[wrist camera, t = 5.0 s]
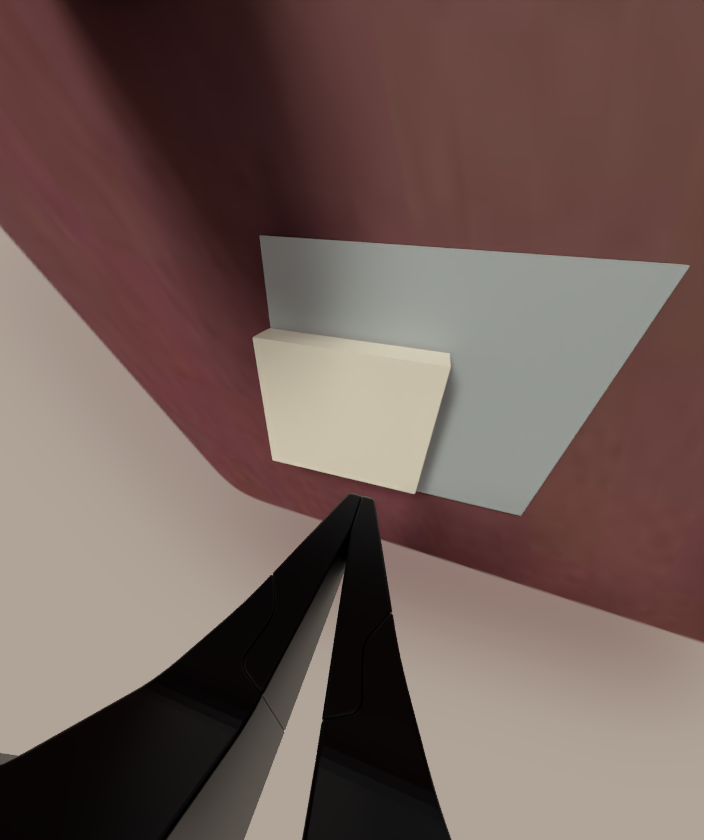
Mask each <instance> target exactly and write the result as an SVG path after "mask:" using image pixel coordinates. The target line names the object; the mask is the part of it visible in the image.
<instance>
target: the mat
mask: <svg viewBox="0 0 704 840" xmlns="http://www.w3.org/2000/svg"><path fill="white" fill-rule="evenodd" d="M259 237H260V245H261V254H262V262H263V270H264V278H265V286H266V294H267V303H268V311H269V319H270V327H271V328H272V329H279V330H286V331H293V332H300V333H307V334H315V335H322V336H329V337H336V338H343V339H350V340H358V341H365V342H372V343H379V344H386V345H393V346H401V347H408V348H415V349H422V350H429V351H436V352H444V353H450V362H451V368H450V372H449V375H448V379H447V383H446V386H445V390H444V393H443V397H442V400H441V404H440V407H439V411H438V414H437V418H436V421H435V425H434V428H433V432H432V436H431V439H430V443H429V446H428V450H427V453H426V457H425V460H424V464H423V467H422V471H421V474H420V478H419V482H418V485H417V489H416V491H418V492H422V493H426V494H431V495H435V496H439V497H443V498H447V499H452V500H456V501H460V502H464V503H469V504H473V505H477V506H481V507H485V508H490V509H494V510H498V511H502V512H507V513H511V514H515V515H519V516H521V515H522V513H523V512H524V510H525V509H526V507H527V506H528V504H529V503H530V501H531V500H532V498H533V497H534V496H535V494H536V493H537V491H538V490H539V488H540V487H541V485H542V484H543V482H544V481H545V479H546V478H547V476H548V475H549V473H550V472H551V470H552V469H553V467H554V466H555V464H556V463H557V462H558V460H559V459H560V457H561V456H562V454H563V453H564V451H565V450H566V448H567V447H568V445H569V444H570V442H571V441H572V439H573V438H574V436H575V435H576V433H577V432H578V430H579V429H580V428H581V426H582V425H583V423H584V422H585V420H586V419H587V417H588V416H589V414H590V413H591V411H592V410H593V408H594V407H595V405H596V404H597V402H598V401H599V399H600V398H601V396H602V395H603V394H604V392H605V391H606V389H607V388H608V386H609V385H610V383H611V382H612V380H613V379H614V377H615V376H616V374H617V373H618V371H619V370H620V368H621V367H622V365H623V364H624V362H625V361H626V360H627V358H628V357H629V355H630V354H631V352H632V351H633V349H634V348H635V346H636V345H637V343H638V342H639V340H640V339H641V337H642V336H643V334H644V333H645V331H646V330H647V328H648V327H649V326H650V324H651V323H652V321H653V320H654V318H655V317H656V315H657V314H658V312H659V311H660V309H661V308H662V306H663V305H664V303H665V302H666V300H667V299H668V297H669V296H670V294H671V293H672V292H673V290H674V289H675V287H676V286H677V284H678V283H679V281H680V280H681V278H682V277H683V275H684V274H685V272H686V271H687V269H688V268H689V266H690V265H682V264H668V263H654V262H640V261H625V260H611V259H597V258H582V257H568V256H553V255H539V254H525V253H510V252H496V251H481V250H467V249H453V248H438V247H424V246H409V245H395V244H381V243H366V242H352V241H338V240H323V239H309V238H294V237H280V236H266V235H259Z"/></svg>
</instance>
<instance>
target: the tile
mask: <svg viewBox="0 0 704 840" xmlns="http://www.w3.org/2000/svg"><path fill="white" fill-rule="evenodd" d="M252 338H253V344H254V350H255V356H256V362H257V368H258V374H259V381H260V387H261V393H262V399H263V405H264V411H265V417H266V423H267V429H268V435H269V442H270V448H271V454H272V460H274V461H278V462H282V463H286V464H291V465H295V466H299V467H303V468H307V469H311V470H316V471H320V472H324V473H328V474H332V475H337V476H341V477H345V478H349V479H353V480H358V481H362V482H366V483H370V484H374V485H378V486H383V487H387V488H391V489H395V490H399V491H404V492H408V493H412V494H415V492H416V489H417V485H418V482H419V478H420V474H421V471H422V467H423V464H424V460H425V457H426V453H427V450H428V446H429V443H430V439H431V436H432V432H433V428H434V425H435V421H436V418H437V414H438V411H439V407H440V404H441V400H442V397H443V393H444V390H445V386H446V383H447V379H448V375H449V372H450V368H451V362H450V353H444V352H436V351H429V350H422V349H415V348H408V347H401V346H393V345H386V344H379V343H372V342H365V341H358V340H350V339H343V338H336V337H329V336H322V335H315V334H307V333H300V332H293V331H286V330H279V329H272V328H269V329H267V330H265V331H263V332H261V333H260V334H258V335H256V336H254V337H252Z"/></svg>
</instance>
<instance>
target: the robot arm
mask: <svg viewBox="0 0 704 840" xmlns="http://www.w3.org/2000/svg"><path fill="white" fill-rule="evenodd" d="M343 574H344V578H343V584H342V591H341V598H340V605H339V611H338V618H337V624H336V631H335V638H334V644H333V651H332V658H331V664H330V671H329V678H328V684H327V691H326V697H325V703H324V710H323V717H322V719H323V722H322V724H321V730H320V736H319V743H318V749H317V755H316V762H315V767H314V773H313V779H312V786H311V791H310V797H309V803H308V809H307V815H306V820H305V826H304V832H303V838H302V840H451V838H450V835H449V832H448V829H447V826H446V823H445V820H444V817H443V814H442V811H441V808H440V805H439V801H438V798H437V795H436V792H435V788H434V785H433V781H432V778H431V774H430V771H429V767H428V764H427V760H426V756H425V752H424V749H423V744H422V741H421V737H420V733H419V730H418V725H417V722H416V718H415V714H414V710H413V707H412V703H411V699H410V695H409V691H408V687H407V683H406V679H405V676H404V671H403V667H402V662H401V658H400V653H399V648H398V642H397V637H396V631H395V625H394V620H393V615H392V614H391V613H392V608H391V602H390V595H389V589H388V583H387V576H386V570H385V564H384V557H383V551H382V544H381V538H380V532H379V526H378V519H377V513H376V507H375V501H374V499H373V498H370V497H366V496H363V497H361V495H358V494H354V493H349V494H348V495H347V496H346V497H345V498H344V499H343V500H342V501H341V502H340V503H339V504H338V505H337V506H336V508H335V509H334V510H333V511H332V512H331V513H330V514H329V515H328V516H327V517H326V518H325V519H324V520H323V521H322V522H321V523H320V524H319V525H318V527H317V528H316V529H315V530H314V531H313V532H312V533H311V534H310V535H309V536H308V537H307V538H306V539H305V540H304V541H303V542H302V543H301V544H300V545H299V546H298V547H297V548H296V549H295V550H294V552H293V553H292V554H291V555H290V556H289V557H288V558H287V559H286V560H285V561H284V562H283V563H282V564H281V565H280V566H279V567H278V568H277V569H276V570H275V571H274V573H273V575H270V577H269V578H268V579H267V580H266V581H265V582H264V583H263V584H262V585H261V586H260V587H259V588H258V589H257V590H256V591H255V592H254V593H253V594H252V595H251V596H250V597H249V598H248V599H247V600H246V601H245V602H244V603H243V604H242V605H240V606H239V607H238V608H237V609H236V610H235V611H234V612H233V613H232V614H230V616H228V617H227V618H226V619H225V620H224V621H223V622H221V623H220V624H219V625H218V626H217V627H216V628H214V629H213V630H212V631H211V632H210V633H209V634H207V635H206V636H205V637H204V638H203V639H202V640H201V641H199V642H198V643H197V644H196V645H195V646H194V647H192V648H191V649H190V650H189V651H188V652H187V653H185V654H184V655H183V656H182V657H181V658H180V659H179V660H177V661H176V662H175V663H174V664H172V665H171V666H170V667H169V668H168V669H166V670H165V671H164V672H162V673H161V674H160V675H158V676H157V677H155V678H154V679H153V680H151V681H150V682H148V683H147V684H145V685H144V686H142V687H141V688H138V689H137V690H135V691H133V692H132V693H130V694H128V695H126V696H124V697H123V698H121V699H119V700H117V701H116V702H114V703H112V704H110V705H109V706H107V707H105V708H103V709H101V710H100V711H98V712H96V713H94V714H93V715H91V716H89V717H87V718H86V719H84V720H82V721H80V722H78V723H77V724H75V725H73V726H71V727H70V728H68V729H66V730H64V731H62V732H61V733H59V734H57V735H55V736H53V737H52V738H50V739H48V740H46V741H45V742H43V743H41V744H39V745H37V746H36V747H34V748H32V749H31V750H29V751H27V752H25V753H23V754H21V755H20V756H15V755H9V754H2V753H0V840H244V838H245V835H246V833H247V830H248V827H249V824H250V822H251V819H252V816H253V814H254V811H255V809H256V806H257V803H258V801H259V798H260V795H261V793H262V790H263V787H264V784H265V781H266V779H267V777H268V774H269V771H270V768H271V766H272V763H273V760H274V758H275V755H276V753H277V750H278V747H279V745H280V742H281V739H282V737H283V734H284V730H285V728H286V726H287V723H288V720H289V718H290V715H291V712H292V710H293V707H294V704H295V702H296V699H297V696H298V694H299V691H300V688H301V686H302V683H303V680H304V678H305V675H306V672H307V670H308V667H309V664H310V662H311V659H312V656H313V654H314V651H315V648H316V646H317V643H318V640H319V638H320V635H321V632H322V630H323V627H324V624H325V622H326V619H327V616H328V614H329V611H330V608H331V606H332V603H333V600H334V598H335V595H336V592H337V590H338V587H339V584H340V582H341V579H342V576H343Z"/></svg>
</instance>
